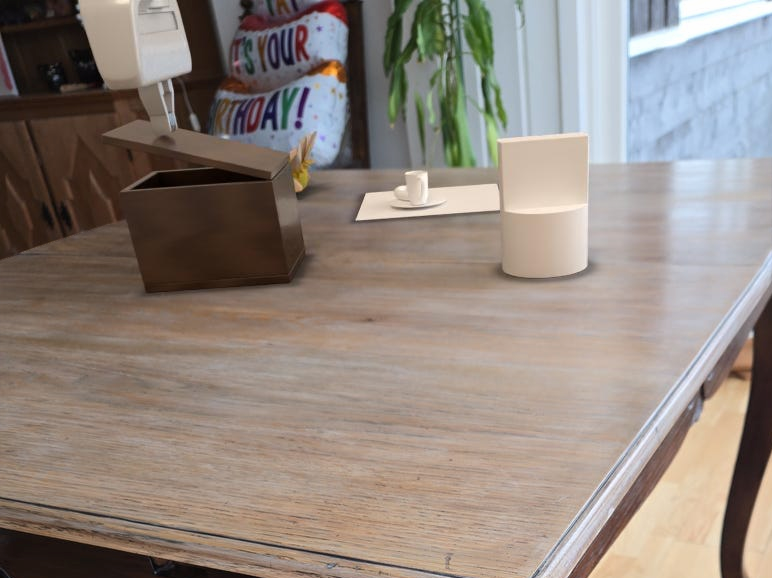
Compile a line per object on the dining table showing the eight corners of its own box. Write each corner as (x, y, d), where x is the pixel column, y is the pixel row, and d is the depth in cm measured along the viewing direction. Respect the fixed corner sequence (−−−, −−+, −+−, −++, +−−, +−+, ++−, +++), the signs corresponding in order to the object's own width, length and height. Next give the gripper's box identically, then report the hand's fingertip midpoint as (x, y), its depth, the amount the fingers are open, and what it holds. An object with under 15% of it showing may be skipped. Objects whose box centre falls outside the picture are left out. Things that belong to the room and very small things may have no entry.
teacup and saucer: (391, 200, 129) (388, 169, 127) (446, 196, 129) (443, 165, 127) (388, 212, 122) (384, 179, 120) (446, 208, 122) (443, 175, 120)
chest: (145, 292, 95) (118, 192, 90) (175, 263, 106) (152, 171, 100) (290, 282, 95) (272, 181, 89) (306, 254, 105) (290, 161, 100)
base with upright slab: (506, 281, 90) (501, 147, 83) (498, 259, 98) (492, 135, 90) (594, 273, 91) (596, 139, 84) (579, 252, 98) (580, 128, 91)
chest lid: (101, 143, 87) (101, 134, 87) (138, 127, 97) (138, 119, 97) (270, 180, 89) (271, 171, 89) (289, 160, 99) (290, 153, 99)
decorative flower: (254, 173, 146) (255, 104, 139) (323, 187, 146) (327, 119, 140) (230, 199, 134) (229, 125, 128) (304, 214, 135) (307, 141, 129)
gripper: (126, -30, 92) (162, 123, 101) (54, -34, 76) (105, 149, 84) (186, -35, 92) (218, 119, 100) (128, -40, 76) (171, 144, 84)
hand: (166, 133), depth 92 cm, fingers closed, pressing on chest lid
